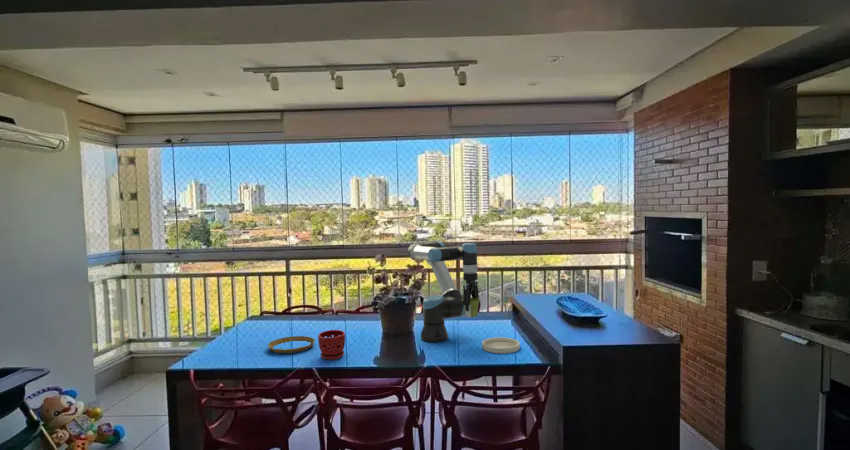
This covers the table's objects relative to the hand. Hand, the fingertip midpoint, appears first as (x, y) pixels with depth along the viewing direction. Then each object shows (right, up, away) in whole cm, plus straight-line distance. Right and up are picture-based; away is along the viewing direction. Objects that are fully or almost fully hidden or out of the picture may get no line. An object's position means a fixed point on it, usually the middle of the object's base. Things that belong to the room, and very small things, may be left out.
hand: (471, 315), depth 233 cm
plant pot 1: (-71, -18, -13) cm, 74 cm away
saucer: (+14, -15, -7) cm, 22 cm away
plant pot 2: (0, -1, 0) cm, 1 cm away
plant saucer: (-96, -19, +4) cm, 98 cm away
